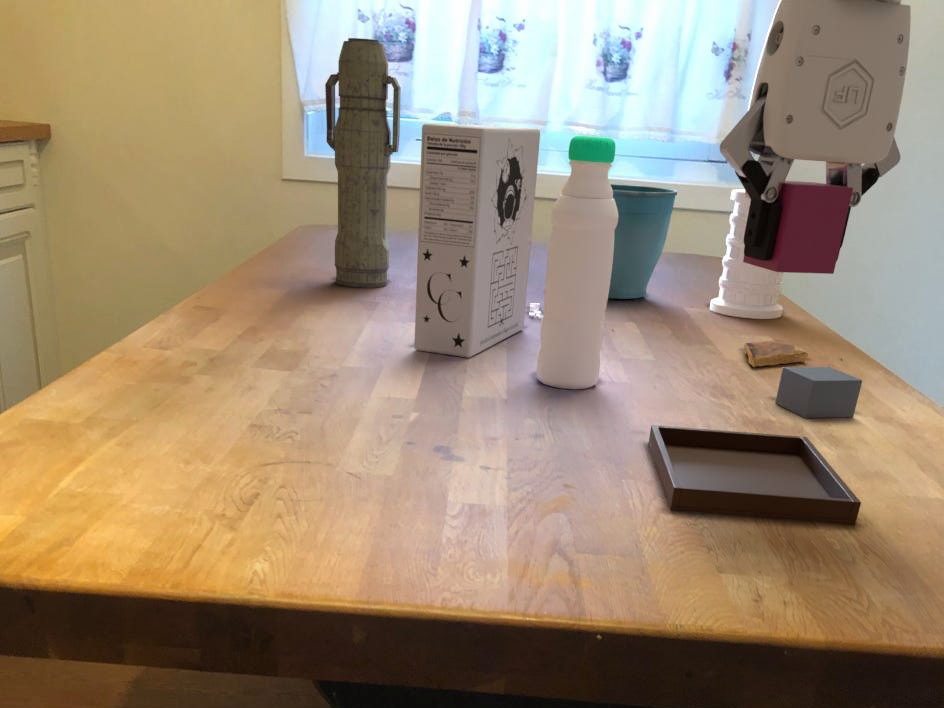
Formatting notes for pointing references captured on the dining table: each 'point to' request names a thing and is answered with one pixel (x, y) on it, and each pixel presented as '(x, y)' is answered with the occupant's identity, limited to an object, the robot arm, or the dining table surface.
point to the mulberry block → (808, 228)
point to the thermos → (362, 160)
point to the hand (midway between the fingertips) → (790, 256)
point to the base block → (818, 392)
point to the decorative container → (745, 274)
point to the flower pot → (638, 237)
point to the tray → (749, 476)
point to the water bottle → (579, 268)
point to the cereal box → (473, 235)
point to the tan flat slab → (773, 353)
